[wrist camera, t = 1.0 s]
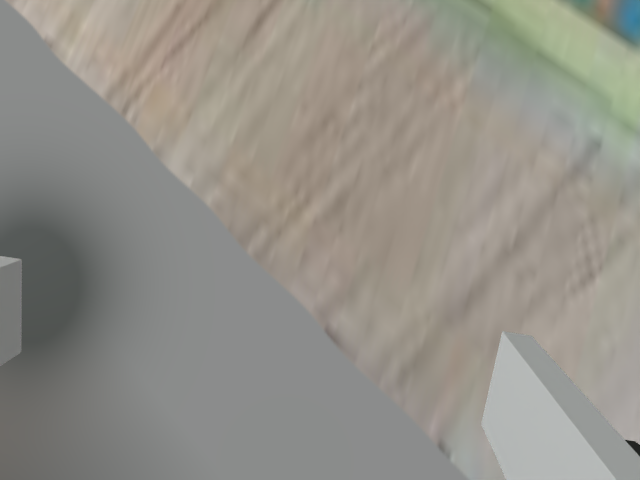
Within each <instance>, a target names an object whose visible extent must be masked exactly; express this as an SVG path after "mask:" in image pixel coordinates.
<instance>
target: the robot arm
mask: <svg viewBox="0 0 640 480" xmlns="http://www.w3.org/2000/svg"><path fill="white" fill-rule="evenodd" d="M21 270H22V260H21V259H15V258H9V257H3V256H0V366H1V365H2V364H4V363H5V362H7V361H8V360H10V359H11V358H13V357H14V356H16V355H17V354H19V353H21V281H22V277H21V276H22V274H21V273H22V271H21ZM481 424H482V427H483V429H484V431H485V433H486V436H487V438H488V440H489V442H490V444H491V447H492V449H493V451H494V453H495V456H496V458H497V460H498V462H499V465H500V467H501V469H502V471H503V474H504V476H505V478H506V480H640V445H639V444H638V443H636V442H635V441H629V440H624V439H623V437H622V436H621V435H620V434H619V433H618V432H617V431H616V430H615V428H614V427H613V426H612V425H611V424H610V423H609V422H608V421H607V420H606V418H605V417H604V416H603V415H602V414H601V413H600V412H599V411H598V409H597V408H596V407H595V406H594V405H593V404H592V403H591V402H590V401H589V399H588V398H587V397H586V396H585V395H584V394H583V393H582V392H581V390H580V389H579V388H578V387H577V386H576V385H575V384H574V383H573V382H572V380H571V379H570V378H569V377H568V376H567V375H566V374H565V373H564V371H563V370H562V369H561V368H560V367H559V366H558V365H557V364H556V363H555V361H554V360H553V359H552V358H551V357H550V356H549V355H548V354H547V352H546V351H545V350H544V349H543V348H542V347H541V346H540V345H539V344H538V342H537V341H536V340H535V339H534V338H533V337H532V336H530V335H523V334H517V333H510V332H503V331H502V336H501V340H500V344H499V349H498V353H497V358H496V362H495V366H494V371H493V375H492V379H491V384H490V388H489V393H488V397H487V401H486V406H485V410H484V415H483V419H482V423H481Z"/></svg>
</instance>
